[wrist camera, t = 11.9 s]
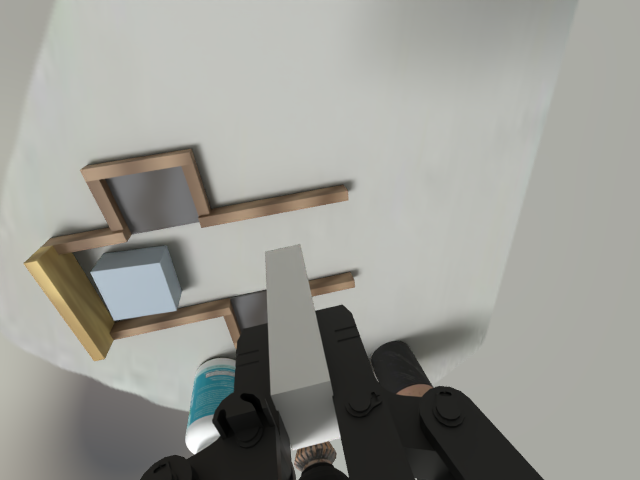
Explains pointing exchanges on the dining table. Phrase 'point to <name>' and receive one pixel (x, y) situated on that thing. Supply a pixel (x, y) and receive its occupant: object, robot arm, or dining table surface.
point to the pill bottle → (208, 401)
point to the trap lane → (147, 215)
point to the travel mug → (400, 370)
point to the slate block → (137, 282)
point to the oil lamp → (318, 463)
